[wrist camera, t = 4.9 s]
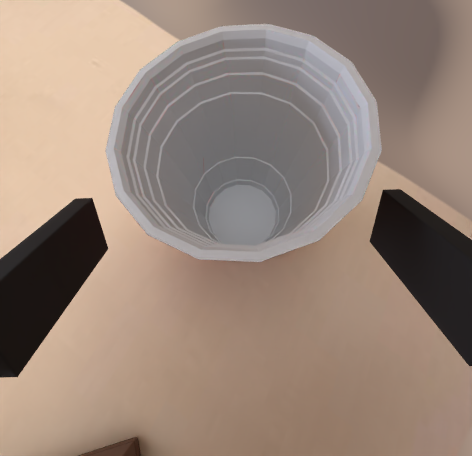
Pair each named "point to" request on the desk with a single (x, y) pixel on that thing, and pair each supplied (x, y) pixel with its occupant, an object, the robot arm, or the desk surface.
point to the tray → (118, 449)
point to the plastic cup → (243, 143)
